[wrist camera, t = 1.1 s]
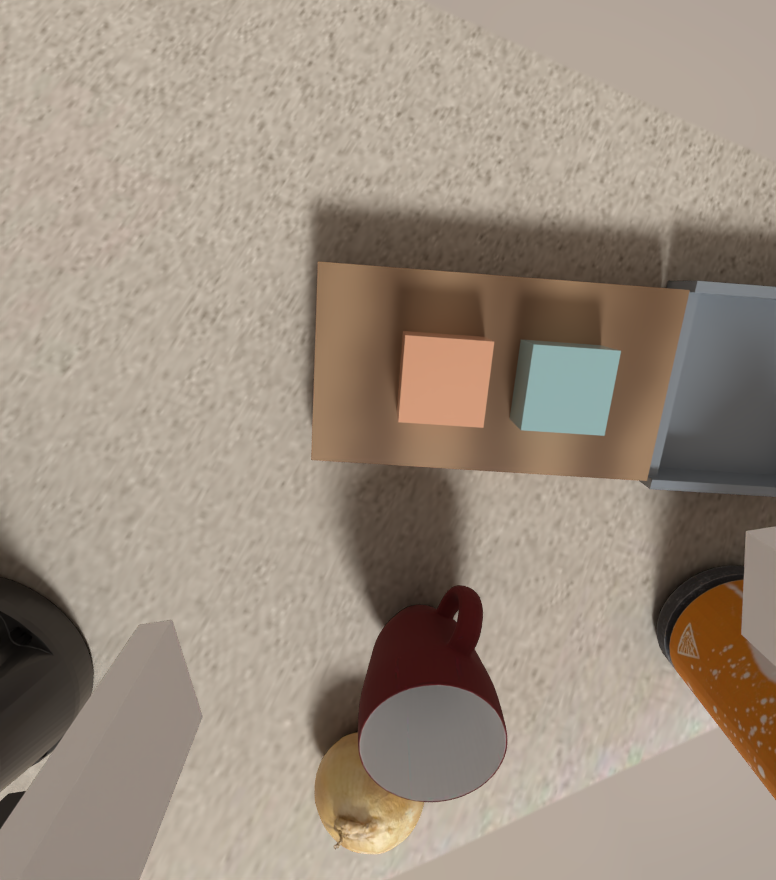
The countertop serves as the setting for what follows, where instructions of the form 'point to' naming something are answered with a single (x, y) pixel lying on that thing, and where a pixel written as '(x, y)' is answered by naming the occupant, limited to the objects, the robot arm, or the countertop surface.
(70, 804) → the robot arm
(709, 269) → the countertop surface
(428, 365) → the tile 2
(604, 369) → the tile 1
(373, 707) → the mug
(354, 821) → the onion
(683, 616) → the canister
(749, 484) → the box
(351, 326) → the tan wooden flat box
